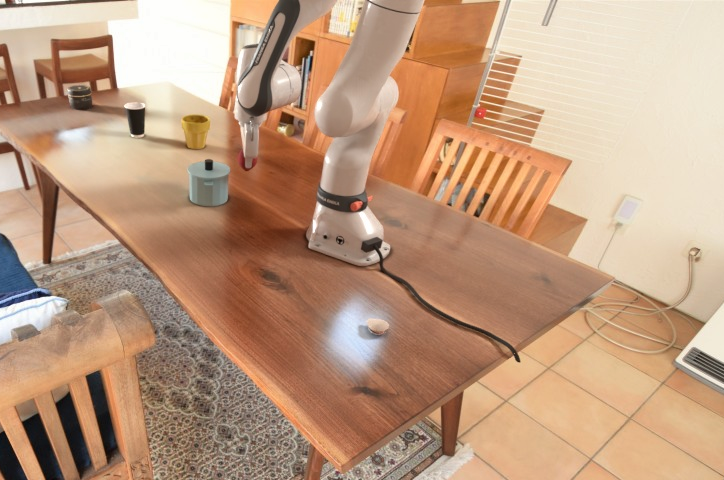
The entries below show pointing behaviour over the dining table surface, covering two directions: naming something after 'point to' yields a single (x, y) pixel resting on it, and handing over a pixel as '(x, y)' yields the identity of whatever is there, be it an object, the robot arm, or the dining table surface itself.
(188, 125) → the flower pot
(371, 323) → the macaroon
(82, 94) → the jar
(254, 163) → the onion
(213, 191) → the pot
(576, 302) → the dining table surface
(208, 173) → the pot lid
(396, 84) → the robot arm
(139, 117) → the dixie cup
